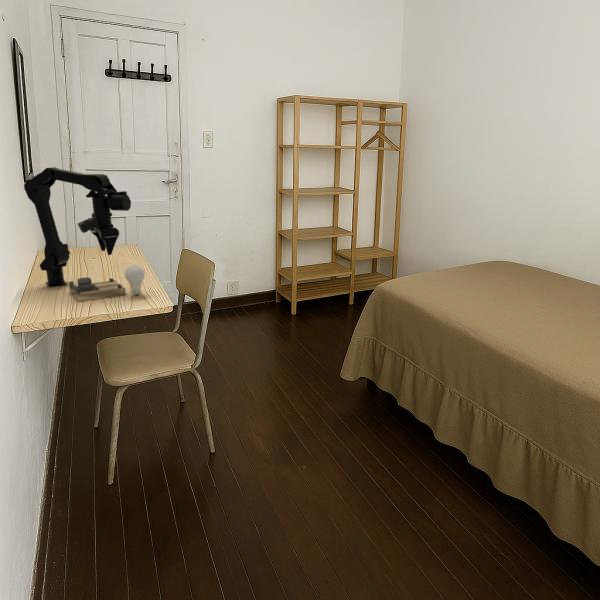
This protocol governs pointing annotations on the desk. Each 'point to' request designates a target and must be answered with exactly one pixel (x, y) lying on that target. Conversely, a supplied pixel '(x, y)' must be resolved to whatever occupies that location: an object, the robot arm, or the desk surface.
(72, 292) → the wooden handle frame
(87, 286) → the stacked grey discs
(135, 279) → the light bulb
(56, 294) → the desk surface
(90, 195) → the robot arm
